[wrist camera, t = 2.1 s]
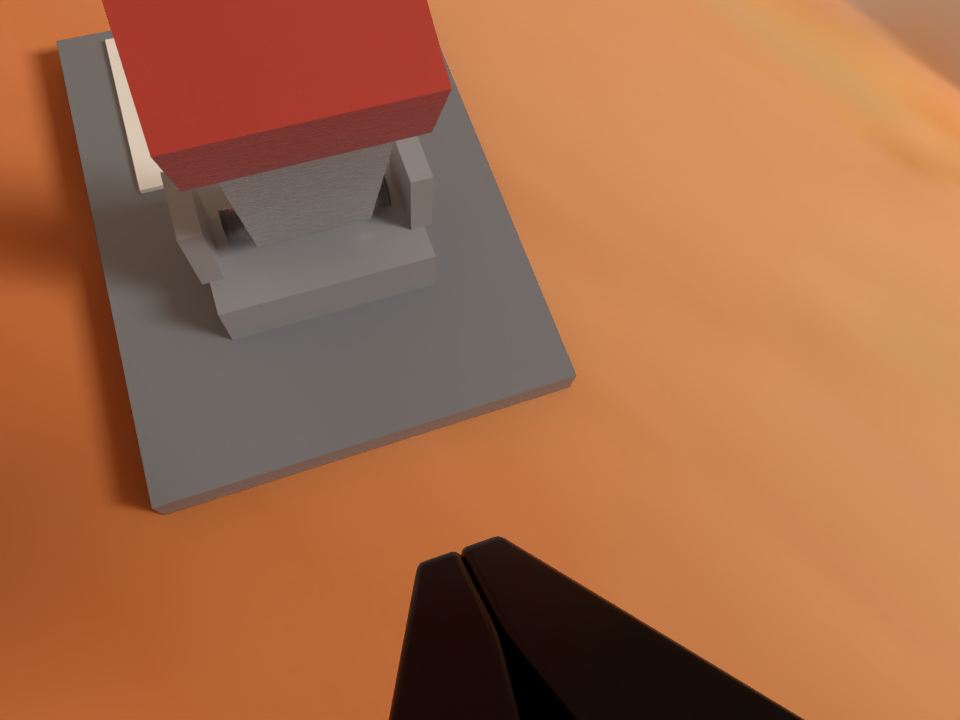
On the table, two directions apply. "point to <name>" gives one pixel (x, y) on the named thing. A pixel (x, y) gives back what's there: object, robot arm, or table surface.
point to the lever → (281, 102)
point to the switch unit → (304, 305)
